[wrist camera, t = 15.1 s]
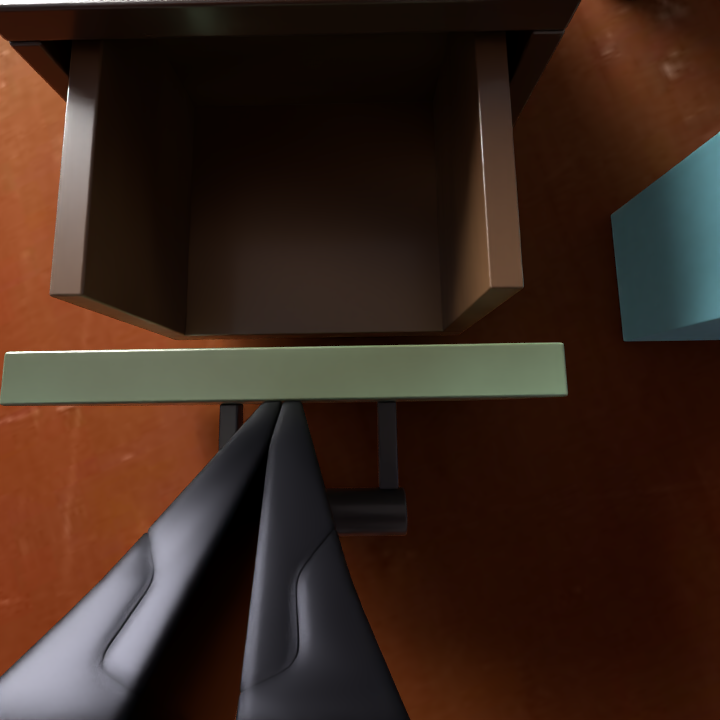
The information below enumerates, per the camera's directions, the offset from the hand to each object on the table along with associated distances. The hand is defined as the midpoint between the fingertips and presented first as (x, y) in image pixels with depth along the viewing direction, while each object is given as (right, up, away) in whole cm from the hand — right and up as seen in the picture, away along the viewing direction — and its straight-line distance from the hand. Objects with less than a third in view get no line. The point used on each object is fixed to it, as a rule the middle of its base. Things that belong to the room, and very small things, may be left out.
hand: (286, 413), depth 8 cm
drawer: (0, +4, +6) cm, 7 cm away
